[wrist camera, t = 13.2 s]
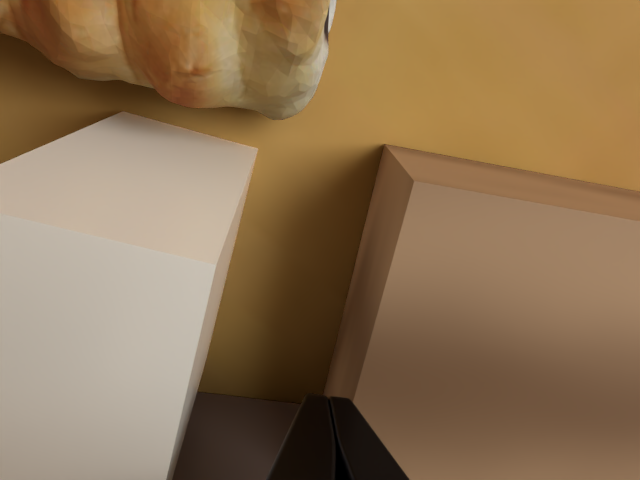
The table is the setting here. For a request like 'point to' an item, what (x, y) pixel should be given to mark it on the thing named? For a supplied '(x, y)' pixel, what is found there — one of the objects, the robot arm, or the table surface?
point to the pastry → (186, 46)
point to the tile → (111, 294)
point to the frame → (233, 437)
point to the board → (495, 322)
